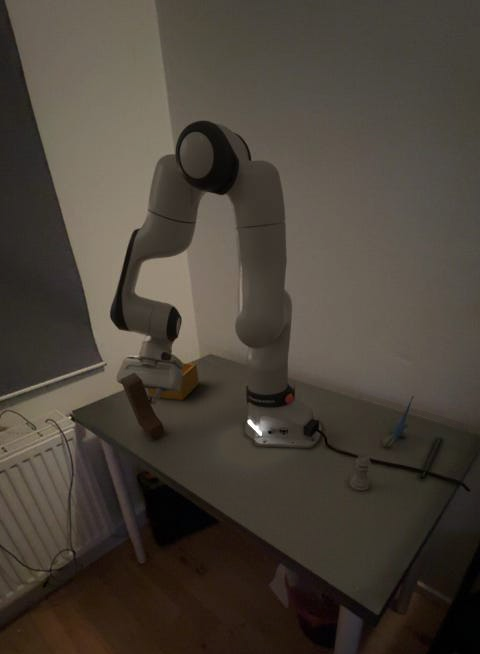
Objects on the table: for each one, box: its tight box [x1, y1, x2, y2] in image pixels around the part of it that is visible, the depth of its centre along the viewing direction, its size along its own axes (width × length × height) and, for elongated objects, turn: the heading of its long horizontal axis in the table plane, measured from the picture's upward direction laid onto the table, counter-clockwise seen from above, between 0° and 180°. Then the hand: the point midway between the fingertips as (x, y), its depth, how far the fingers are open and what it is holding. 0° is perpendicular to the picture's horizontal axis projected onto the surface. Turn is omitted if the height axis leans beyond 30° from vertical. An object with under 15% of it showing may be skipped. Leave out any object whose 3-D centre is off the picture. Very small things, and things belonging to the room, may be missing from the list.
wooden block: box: [121, 373, 166, 440], centre depth 99 cm, size 9×4×18 cm, turn 39°
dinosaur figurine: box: [380, 395, 414, 449], centre depth 93 cm, size 3×15×10 cm
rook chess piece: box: [349, 454, 372, 492], centre depth 79 cm, size 4×4×8 cm
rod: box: [420, 436, 442, 480], centre depth 87 cm, size 1×19×1 cm, turn 143°
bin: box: [147, 362, 200, 401], centre depth 128 cm, size 14×14×8 cm
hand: (142, 402), depth 101 cm, fingers closed on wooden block, 5 cm apart
